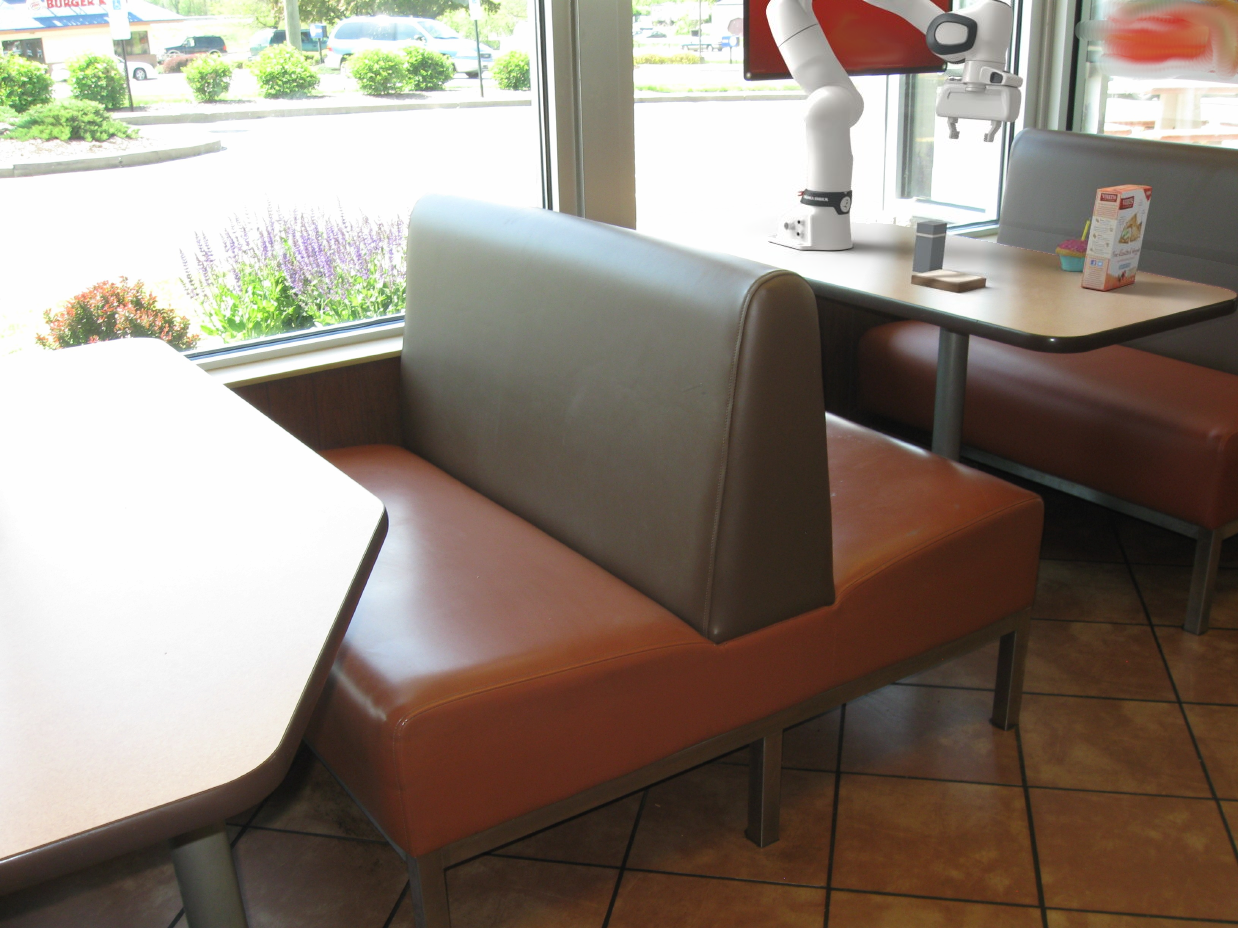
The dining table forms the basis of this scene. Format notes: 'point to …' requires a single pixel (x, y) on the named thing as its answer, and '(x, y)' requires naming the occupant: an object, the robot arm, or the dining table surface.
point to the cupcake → (1073, 252)
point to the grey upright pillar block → (929, 246)
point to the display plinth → (948, 280)
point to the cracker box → (1116, 236)
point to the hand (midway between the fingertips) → (970, 140)
